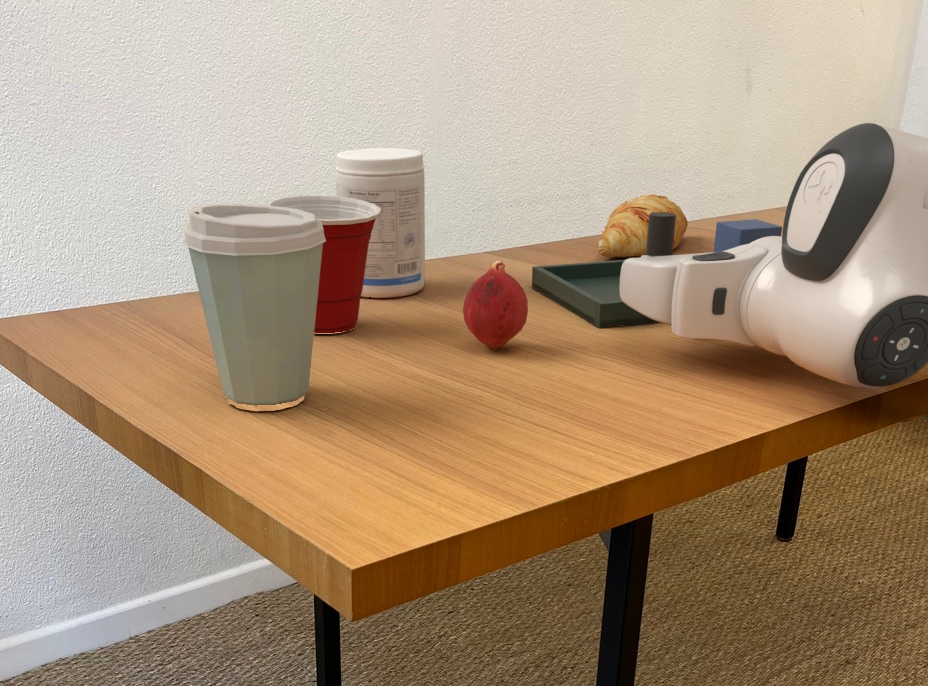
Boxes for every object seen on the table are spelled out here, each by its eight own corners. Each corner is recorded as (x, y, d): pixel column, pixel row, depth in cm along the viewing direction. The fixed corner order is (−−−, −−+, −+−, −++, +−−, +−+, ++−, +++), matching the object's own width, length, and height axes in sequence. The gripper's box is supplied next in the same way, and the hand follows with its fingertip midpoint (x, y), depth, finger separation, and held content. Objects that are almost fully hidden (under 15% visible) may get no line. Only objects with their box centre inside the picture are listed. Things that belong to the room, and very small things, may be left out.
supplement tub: (350, 279, 123) (345, 147, 117) (431, 281, 121) (430, 147, 115) (332, 299, 114) (325, 157, 108) (418, 301, 113) (416, 157, 106)
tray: (660, 277, 122) (668, 190, 118) (744, 315, 106) (756, 215, 102) (531, 287, 118) (534, 197, 114) (598, 328, 102) (605, 225, 98)
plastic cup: (334, 350, 96) (328, 216, 91) (250, 331, 102) (240, 205, 97) (406, 324, 104) (404, 200, 99) (324, 309, 110) (319, 190, 105)
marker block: (749, 282, 119) (756, 219, 116) (774, 291, 115) (782, 226, 112) (709, 285, 118) (716, 221, 115) (733, 295, 114) (741, 229, 111)
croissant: (621, 293, 129) (653, 238, 124) (559, 246, 132) (588, 191, 127) (693, 259, 144) (725, 209, 139) (637, 218, 147) (665, 168, 142)
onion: (510, 362, 92) (512, 271, 89) (452, 353, 95) (452, 264, 92) (536, 345, 97) (539, 258, 94) (480, 337, 100) (481, 252, 96)
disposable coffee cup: (311, 373, 90) (301, 193, 84) (353, 412, 81) (345, 213, 75) (188, 389, 86) (168, 202, 80) (217, 432, 77) (197, 224, 71)
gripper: (889, 246, 88) (793, 220, 100) (668, 262, 83) (595, 232, 95) (875, 320, 91) (784, 285, 103) (661, 340, 86) (591, 301, 98)
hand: (691, 260), depth 99 cm, fingers open, 8 cm apart
